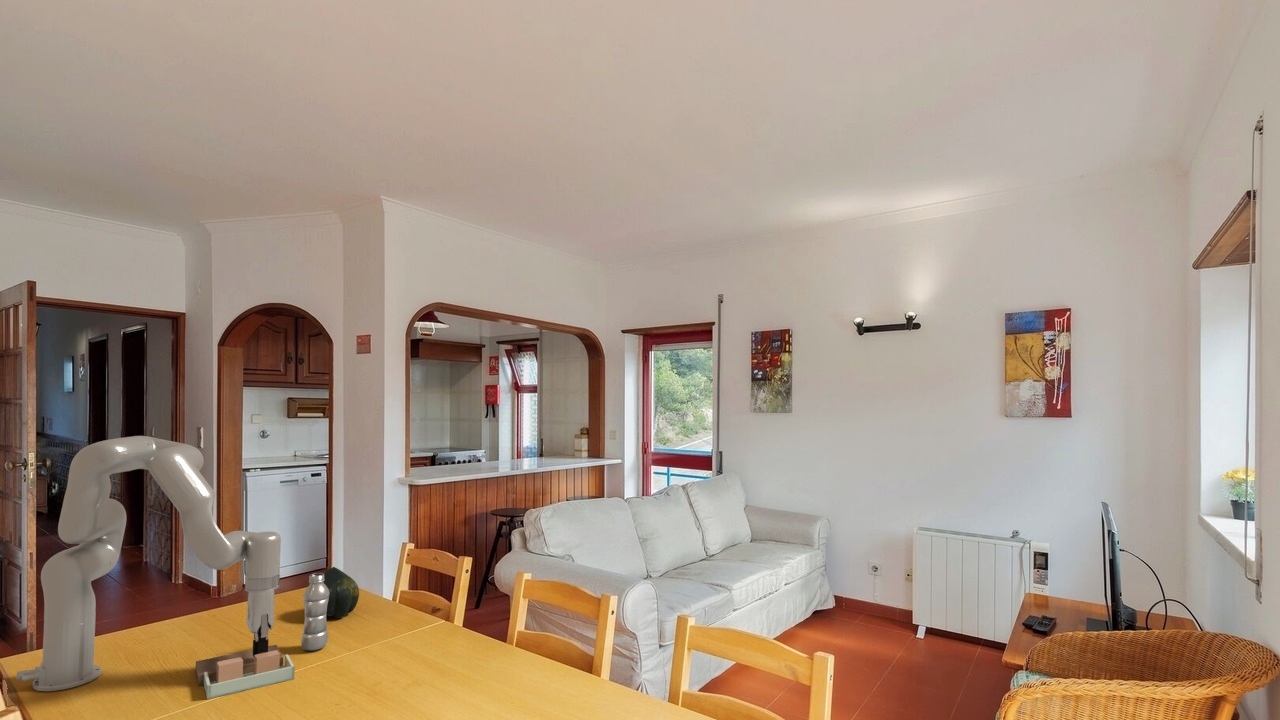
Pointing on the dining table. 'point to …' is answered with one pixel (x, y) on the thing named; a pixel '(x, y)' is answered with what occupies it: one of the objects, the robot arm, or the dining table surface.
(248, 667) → the board
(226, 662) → the tile
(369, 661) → the dining table surface
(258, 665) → the tile
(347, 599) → the squash
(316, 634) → the plastic bottle
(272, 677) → the tray
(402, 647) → the dining table surface
